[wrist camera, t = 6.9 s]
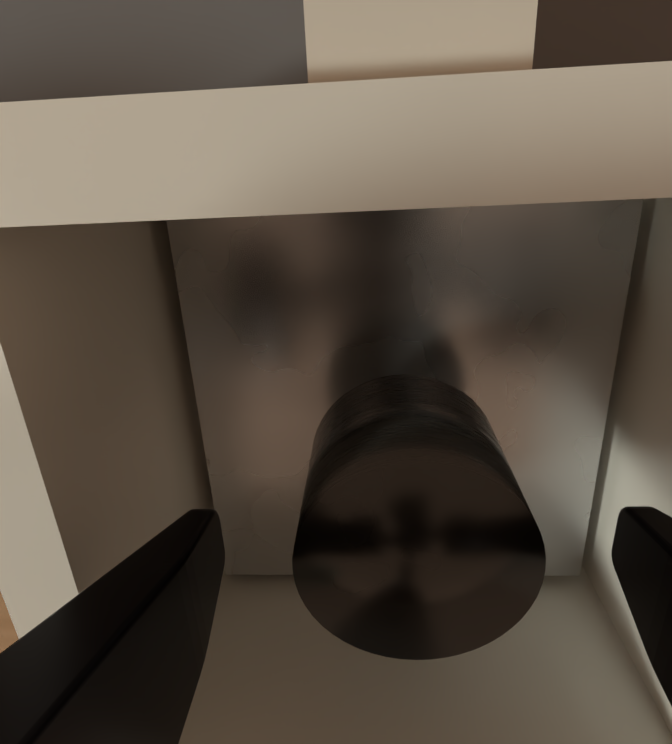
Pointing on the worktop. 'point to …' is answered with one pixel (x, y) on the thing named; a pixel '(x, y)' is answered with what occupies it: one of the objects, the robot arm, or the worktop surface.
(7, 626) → the worktop surface
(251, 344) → the knob on square plate
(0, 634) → the worktop surface
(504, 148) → the white square tray
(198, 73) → the mat
